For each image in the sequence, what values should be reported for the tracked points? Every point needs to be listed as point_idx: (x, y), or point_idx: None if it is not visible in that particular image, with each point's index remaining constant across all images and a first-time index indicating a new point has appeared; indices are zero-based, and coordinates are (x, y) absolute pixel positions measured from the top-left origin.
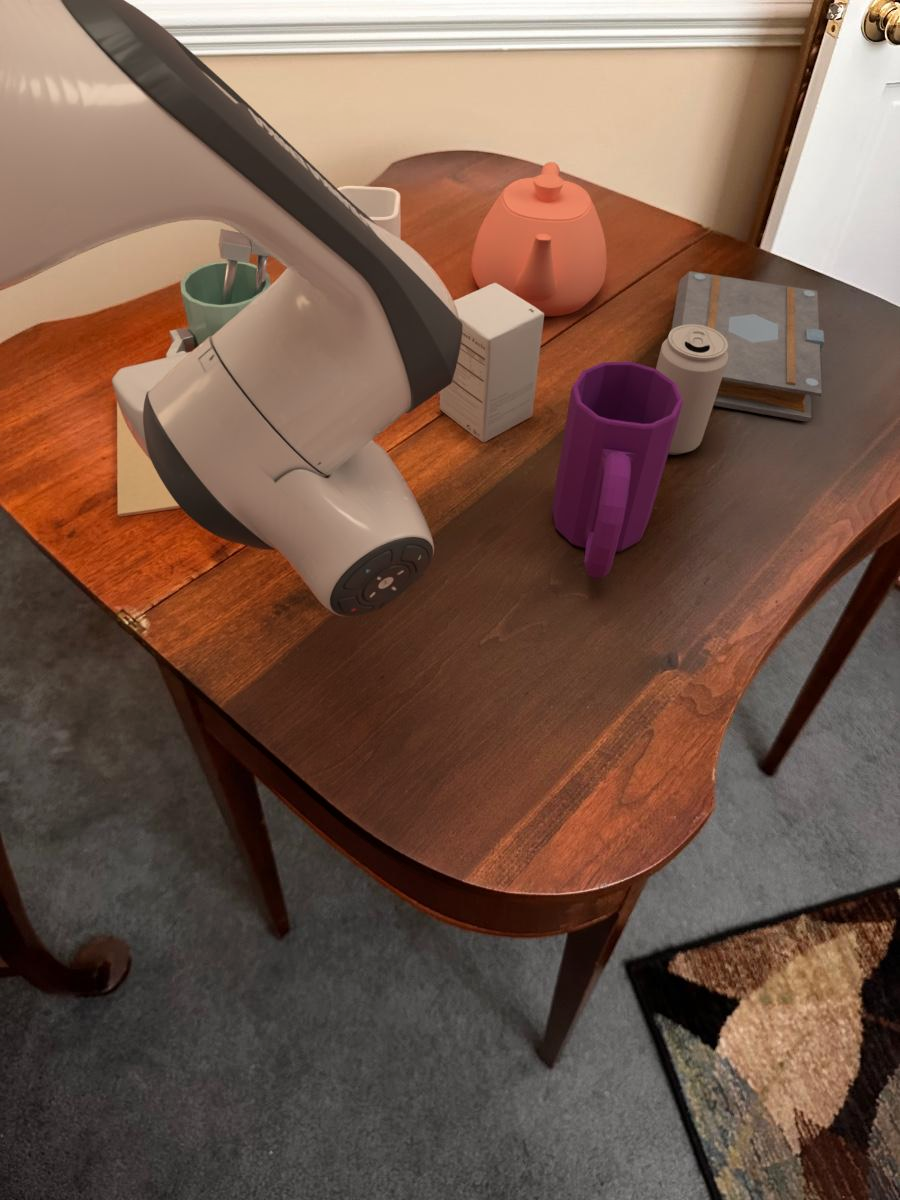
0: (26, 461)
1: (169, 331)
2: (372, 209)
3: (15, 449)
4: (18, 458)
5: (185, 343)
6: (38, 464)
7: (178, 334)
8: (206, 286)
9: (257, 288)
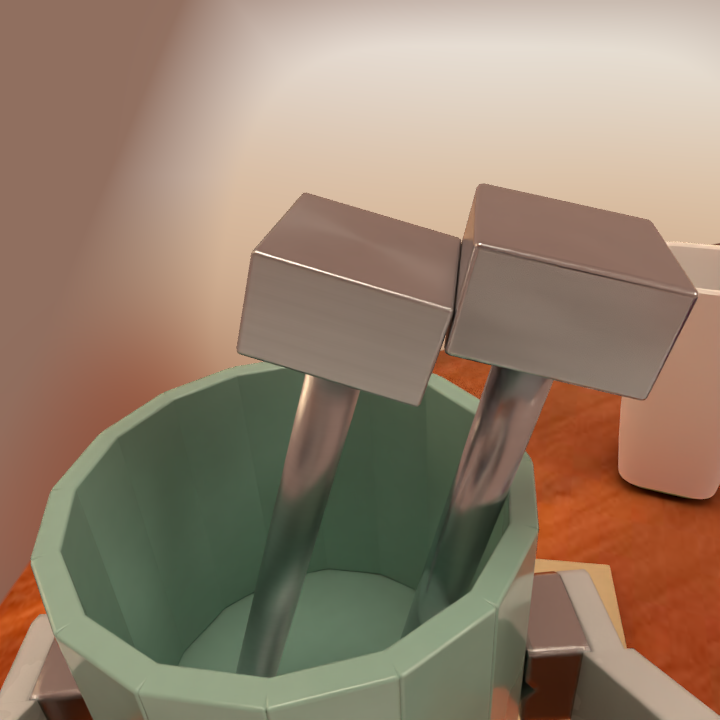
0: (10, 629)
1: (38, 617)
2: (713, 283)
3: (15, 595)
4: (5, 618)
5: (50, 716)
6: (21, 642)
7: (42, 657)
8: (257, 443)
9: (453, 531)
